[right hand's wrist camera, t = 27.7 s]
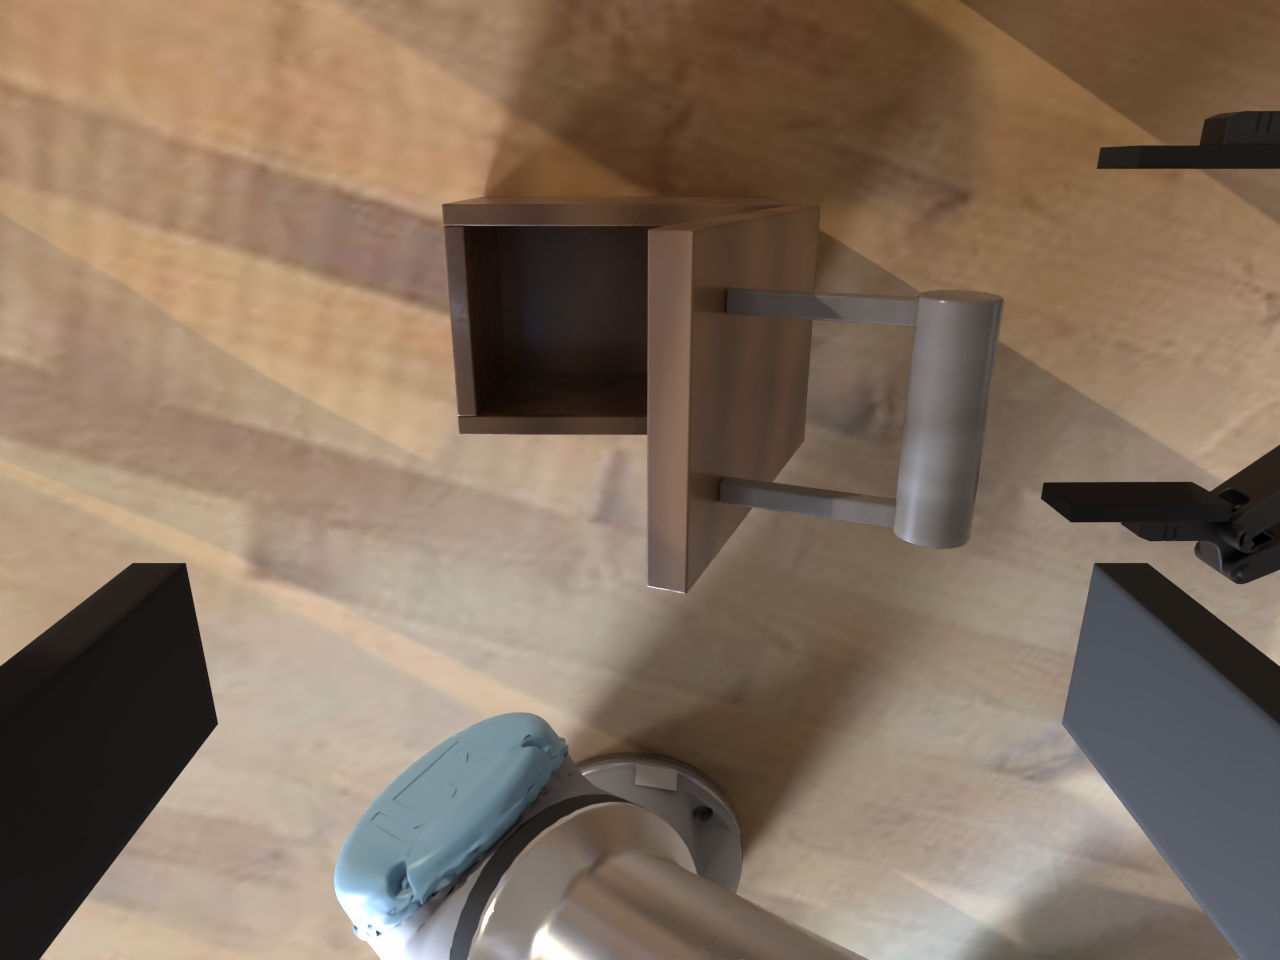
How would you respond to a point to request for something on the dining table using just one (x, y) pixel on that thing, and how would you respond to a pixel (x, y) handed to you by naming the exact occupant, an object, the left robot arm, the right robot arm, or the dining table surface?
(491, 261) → the chest
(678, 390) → the lid
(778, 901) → the dining table surface
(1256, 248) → the dining table surface
